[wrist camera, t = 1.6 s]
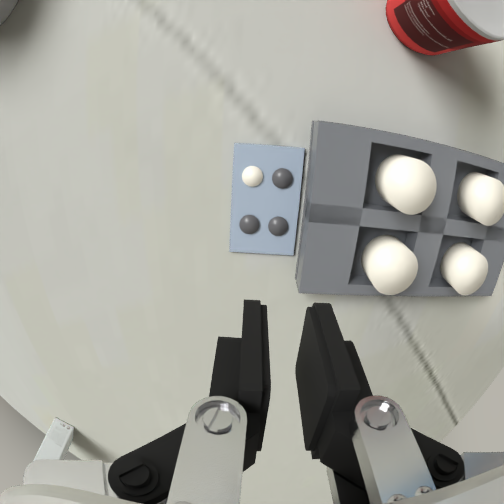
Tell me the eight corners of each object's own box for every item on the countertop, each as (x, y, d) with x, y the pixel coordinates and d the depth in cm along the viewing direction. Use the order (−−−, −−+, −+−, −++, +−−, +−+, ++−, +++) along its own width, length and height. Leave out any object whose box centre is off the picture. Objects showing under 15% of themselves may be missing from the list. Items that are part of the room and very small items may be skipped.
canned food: (446, 1, 19) (510, -26, 9) (450, 66, 22) (523, 56, 12) (381, -22, 19) (432, -70, 9) (383, 45, 22) (445, 15, 12)
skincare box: (54, 416, 43) (31, 463, 32) (74, 426, 44) (53, 475, 33) (55, 429, 46) (34, 473, 35) (73, 439, 46) (54, 484, 35)
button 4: (477, 243, 26) (493, 255, 24) (465, 281, 28) (479, 295, 25) (446, 240, 26) (462, 252, 24) (435, 280, 28) (449, 295, 25)
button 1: (422, 159, 23) (440, 164, 21) (414, 207, 25) (431, 217, 22) (378, 150, 23) (393, 154, 21) (371, 201, 25) (384, 211, 22)
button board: (508, 165, 26) (524, 170, 23) (478, 283, 31) (491, 295, 29) (236, 114, 25) (234, 113, 22) (228, 273, 31) (226, 289, 28)
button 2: (408, 236, 26) (423, 249, 23) (398, 279, 28) (410, 295, 25) (366, 232, 26) (377, 245, 23) (356, 277, 28) (366, 294, 25)
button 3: (491, 176, 24) (510, 183, 21) (483, 218, 25) (500, 228, 22) (461, 168, 23) (480, 174, 21) (453, 212, 25) (470, 223, 22)
